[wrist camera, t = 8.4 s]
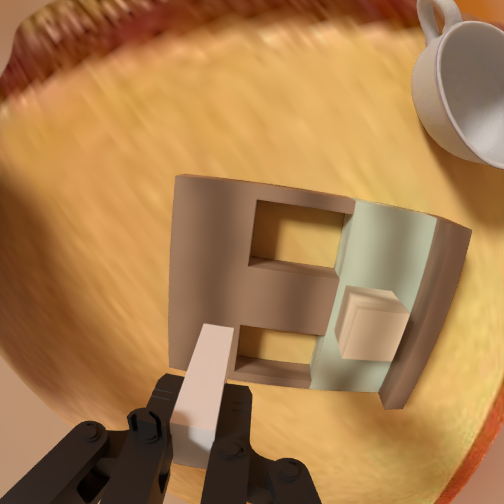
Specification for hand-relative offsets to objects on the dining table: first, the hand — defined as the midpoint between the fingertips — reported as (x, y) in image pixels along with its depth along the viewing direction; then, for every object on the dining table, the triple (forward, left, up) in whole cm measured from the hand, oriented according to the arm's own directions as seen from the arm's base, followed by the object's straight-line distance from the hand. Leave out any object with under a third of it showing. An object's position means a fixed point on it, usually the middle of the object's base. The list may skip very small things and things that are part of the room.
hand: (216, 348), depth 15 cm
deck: (+6, -1, -11) cm, 12 cm away
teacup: (+15, +19, -11) cm, 27 cm away
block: (+10, -1, -9) cm, 13 cm away
